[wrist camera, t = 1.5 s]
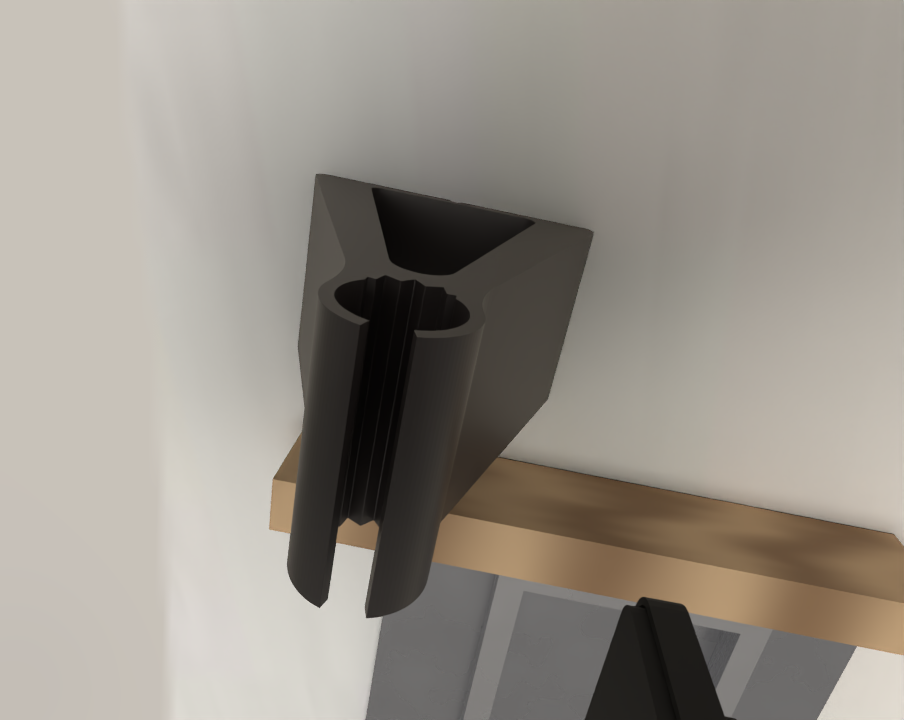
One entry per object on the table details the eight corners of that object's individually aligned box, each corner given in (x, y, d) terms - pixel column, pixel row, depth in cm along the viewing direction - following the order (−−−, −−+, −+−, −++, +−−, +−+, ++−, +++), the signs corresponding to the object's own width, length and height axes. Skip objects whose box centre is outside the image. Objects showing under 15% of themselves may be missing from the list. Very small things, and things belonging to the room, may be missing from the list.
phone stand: (593, 230, 22) (669, 390, 11) (547, 394, 24) (569, 664, 13) (319, 170, 22) (113, 269, 11) (300, 340, 24) (114, 563, 13)
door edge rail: (893, 534, 25) (958, 614, 21) (871, 576, 26) (930, 660, 22) (308, 420, 25) (272, 478, 22) (304, 465, 26) (269, 529, 22)
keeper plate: (861, 597, 26) (889, 640, 24) (747, 812, 31) (762, 863, 29) (402, 506, 26) (392, 542, 24) (364, 734, 32) (354, 778, 30)
